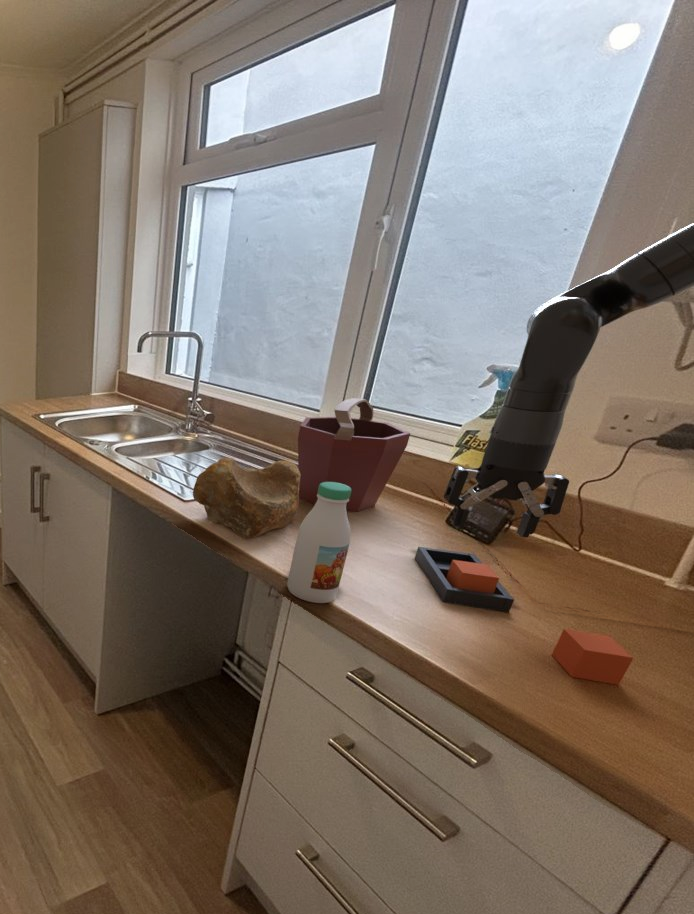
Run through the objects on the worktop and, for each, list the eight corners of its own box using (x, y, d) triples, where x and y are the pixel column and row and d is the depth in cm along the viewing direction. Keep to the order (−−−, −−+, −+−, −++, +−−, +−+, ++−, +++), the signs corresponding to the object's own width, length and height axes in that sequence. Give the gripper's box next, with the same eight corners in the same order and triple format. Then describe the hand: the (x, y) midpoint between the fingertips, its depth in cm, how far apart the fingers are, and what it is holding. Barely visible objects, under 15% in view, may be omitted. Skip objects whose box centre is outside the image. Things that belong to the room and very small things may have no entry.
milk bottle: (287, 599, 90) (311, 490, 83) (284, 578, 97) (306, 475, 89) (339, 608, 87) (368, 496, 80) (332, 585, 94) (358, 480, 86)
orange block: (596, 662, 74) (609, 635, 73) (619, 685, 70) (633, 657, 68) (551, 654, 76) (563, 628, 74) (571, 676, 72) (584, 649, 70)
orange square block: (478, 586, 92) (487, 564, 91) (490, 601, 88) (499, 578, 86) (444, 581, 94) (452, 559, 92) (454, 595, 90) (462, 572, 88)
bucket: (348, 523, 119) (375, 414, 109) (262, 493, 136) (280, 397, 127) (404, 502, 130) (433, 401, 121) (318, 477, 148) (338, 388, 138)
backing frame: (470, 565, 100) (474, 553, 99) (509, 612, 86) (514, 599, 85) (414, 557, 104) (418, 546, 103) (442, 602, 89) (447, 589, 88)
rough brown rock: (211, 550, 109) (227, 485, 102) (182, 513, 124) (193, 453, 117) (316, 547, 111) (338, 483, 104) (275, 511, 126) (291, 453, 119)
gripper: (475, 438, 80) (444, 534, 86) (597, 446, 75) (556, 547, 81) (458, 427, 86) (430, 517, 92) (570, 433, 81) (533, 528, 87)
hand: (489, 531), depth 87 cm, fingers open, 8 cm apart
